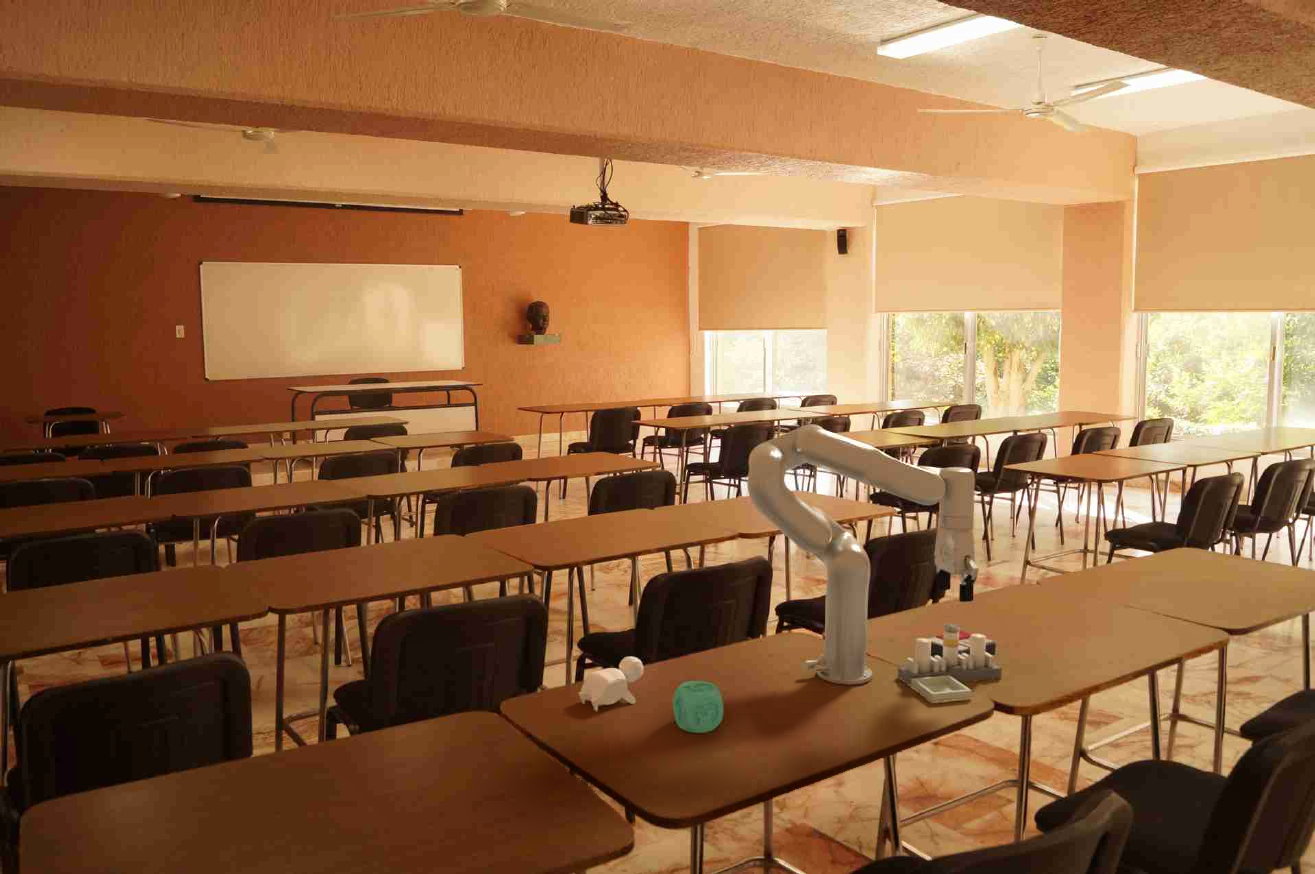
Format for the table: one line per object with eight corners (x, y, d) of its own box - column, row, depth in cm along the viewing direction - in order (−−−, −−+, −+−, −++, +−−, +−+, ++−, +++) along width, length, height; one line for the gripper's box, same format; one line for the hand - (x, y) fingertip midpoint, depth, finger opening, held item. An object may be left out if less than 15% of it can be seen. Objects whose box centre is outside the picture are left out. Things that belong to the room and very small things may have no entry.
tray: (932, 703, 210) (932, 694, 210) (910, 688, 219) (911, 678, 219) (971, 700, 213) (971, 690, 212) (948, 684, 222) (949, 675, 221)
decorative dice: (672, 720, 202) (672, 683, 201) (707, 715, 204) (708, 678, 203) (687, 736, 194) (687, 697, 193) (723, 730, 197) (724, 692, 196)
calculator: (996, 640, 242) (960, 649, 233) (995, 657, 243) (958, 666, 234) (959, 629, 251) (922, 637, 242) (958, 645, 251) (921, 654, 242)
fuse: (947, 670, 223) (948, 628, 222) (939, 665, 227) (940, 624, 225) (960, 669, 224) (962, 627, 223) (952, 664, 227) (954, 622, 226)
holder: (910, 687, 220) (911, 646, 219) (897, 677, 226) (899, 637, 225) (1001, 678, 225) (1002, 638, 224) (986, 669, 231) (988, 630, 230)
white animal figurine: (605, 726, 206) (657, 686, 214) (592, 693, 203) (646, 654, 211) (583, 713, 213) (635, 674, 221) (570, 681, 210) (623, 643, 218)
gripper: (922, 515, 229) (921, 586, 231) (961, 530, 212) (960, 607, 214) (951, 513, 230) (949, 584, 232) (992, 528, 214) (990, 604, 216)
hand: (954, 595), depth 223 cm, fingers open, 9 cm apart
